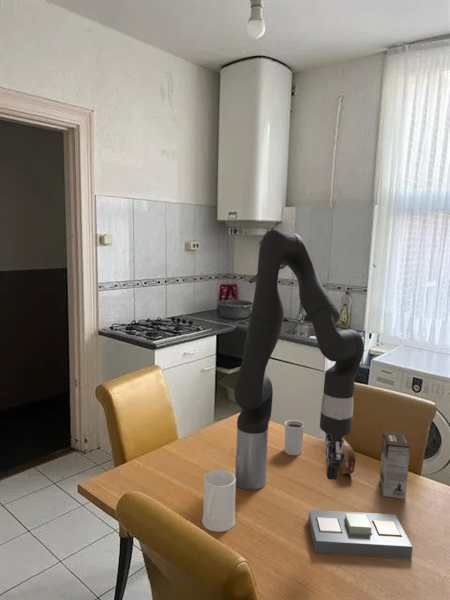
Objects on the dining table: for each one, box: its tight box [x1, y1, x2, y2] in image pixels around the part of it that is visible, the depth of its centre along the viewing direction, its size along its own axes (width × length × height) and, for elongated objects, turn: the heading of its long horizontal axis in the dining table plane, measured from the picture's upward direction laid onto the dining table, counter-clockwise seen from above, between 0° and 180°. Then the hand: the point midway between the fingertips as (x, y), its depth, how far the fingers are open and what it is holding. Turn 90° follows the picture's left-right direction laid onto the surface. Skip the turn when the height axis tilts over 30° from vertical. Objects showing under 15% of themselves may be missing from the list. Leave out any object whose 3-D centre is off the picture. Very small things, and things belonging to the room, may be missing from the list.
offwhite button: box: [317, 517, 341, 533], centre depth 107 cm, size 5×5×3 cm
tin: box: [337, 437, 356, 475], centre depth 141 cm, size 15×3×8 cm, turn 5°
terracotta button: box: [373, 520, 401, 537], centre depth 107 cm, size 5×5×3 cm
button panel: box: [308, 509, 413, 559], centre depth 107 cm, size 22×12×3 cm, turn 87°
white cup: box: [284, 419, 305, 456], centre depth 150 cm, size 7×7×10 cm
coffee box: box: [379, 431, 411, 500], centre depth 128 cm, size 9×6×16 cm
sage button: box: [345, 513, 371, 535], centre depth 107 cm, size 5×5×3 cm
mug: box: [201, 469, 237, 533], centre depth 110 cm, size 12×8×12 cm
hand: (331, 477), depth 108 cm, fingers closed
